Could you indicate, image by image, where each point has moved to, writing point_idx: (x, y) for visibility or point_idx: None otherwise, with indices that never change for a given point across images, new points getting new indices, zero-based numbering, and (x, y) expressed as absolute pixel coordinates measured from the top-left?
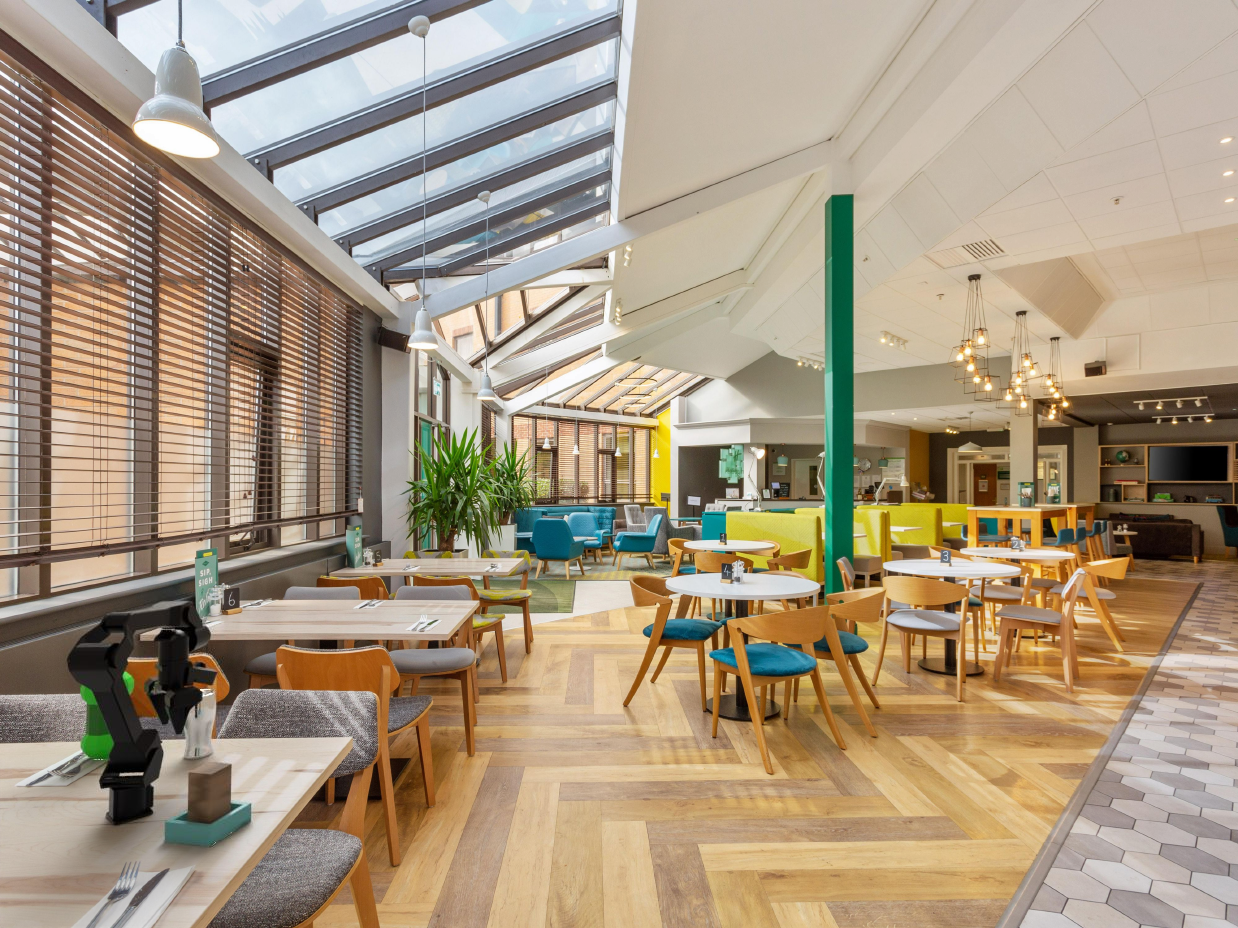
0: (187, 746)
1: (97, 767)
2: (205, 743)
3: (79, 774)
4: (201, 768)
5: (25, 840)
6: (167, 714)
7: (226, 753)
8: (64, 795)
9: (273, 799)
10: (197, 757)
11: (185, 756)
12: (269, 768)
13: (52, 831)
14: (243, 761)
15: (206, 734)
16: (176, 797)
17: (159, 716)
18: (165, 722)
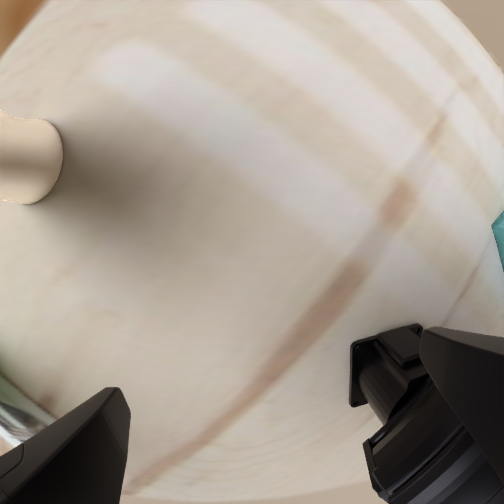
0: (16, 196)
1: (13, 385)
2: (34, 136)
3: (41, 417)
4: None
5: (344, 477)
6: (94, 436)
7: (78, 81)
8: (155, 456)
9: (493, 103)
10: (60, 165)
11: (36, 200)
12: (320, 11)
13: (342, 459)
14: (196, 42)
15: (15, 128)
16: (367, 267)
17: (120, 474)
18: (123, 408)
